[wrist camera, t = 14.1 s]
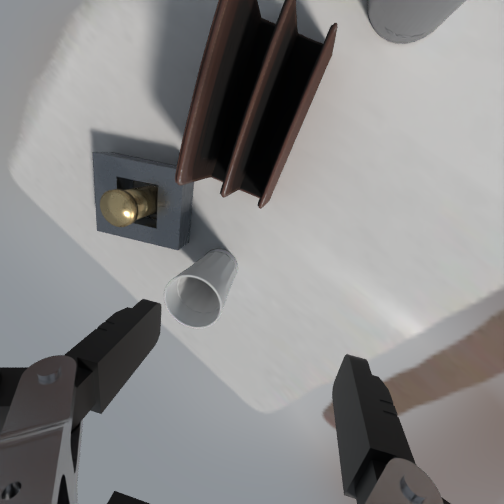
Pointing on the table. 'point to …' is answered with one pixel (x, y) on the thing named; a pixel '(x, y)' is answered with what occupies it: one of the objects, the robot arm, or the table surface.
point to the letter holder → (250, 98)
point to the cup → (201, 290)
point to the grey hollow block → (169, 199)
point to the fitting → (128, 204)
